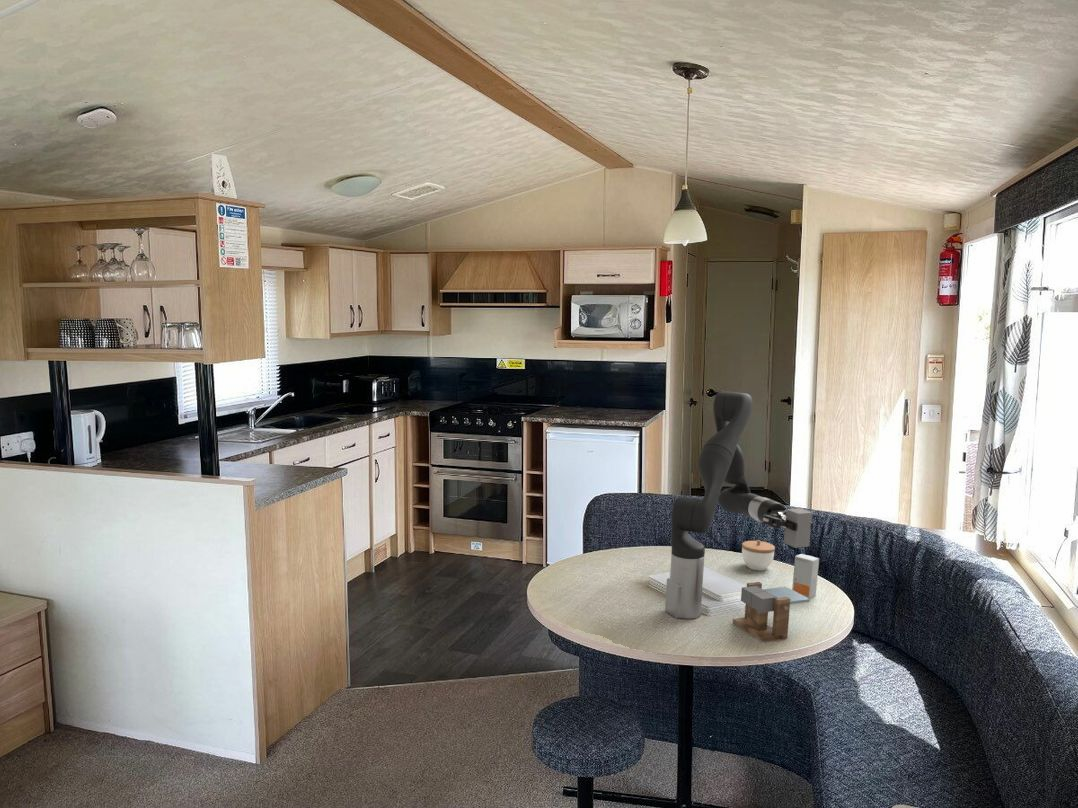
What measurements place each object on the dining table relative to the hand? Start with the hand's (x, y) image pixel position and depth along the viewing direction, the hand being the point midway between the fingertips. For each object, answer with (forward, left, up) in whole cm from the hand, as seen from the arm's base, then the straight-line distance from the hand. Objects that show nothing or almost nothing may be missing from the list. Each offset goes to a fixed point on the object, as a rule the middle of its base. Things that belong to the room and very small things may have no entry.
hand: (804, 526), depth 232 cm
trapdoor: (-15, -8, -18) cm, 25 cm away
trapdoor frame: (-19, -8, -25) cm, 33 cm away
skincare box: (+12, +11, -26) cm, 30 cm away
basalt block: (0, +3, -6) cm, 7 cm away
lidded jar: (+14, +37, -26) cm, 47 cm away
